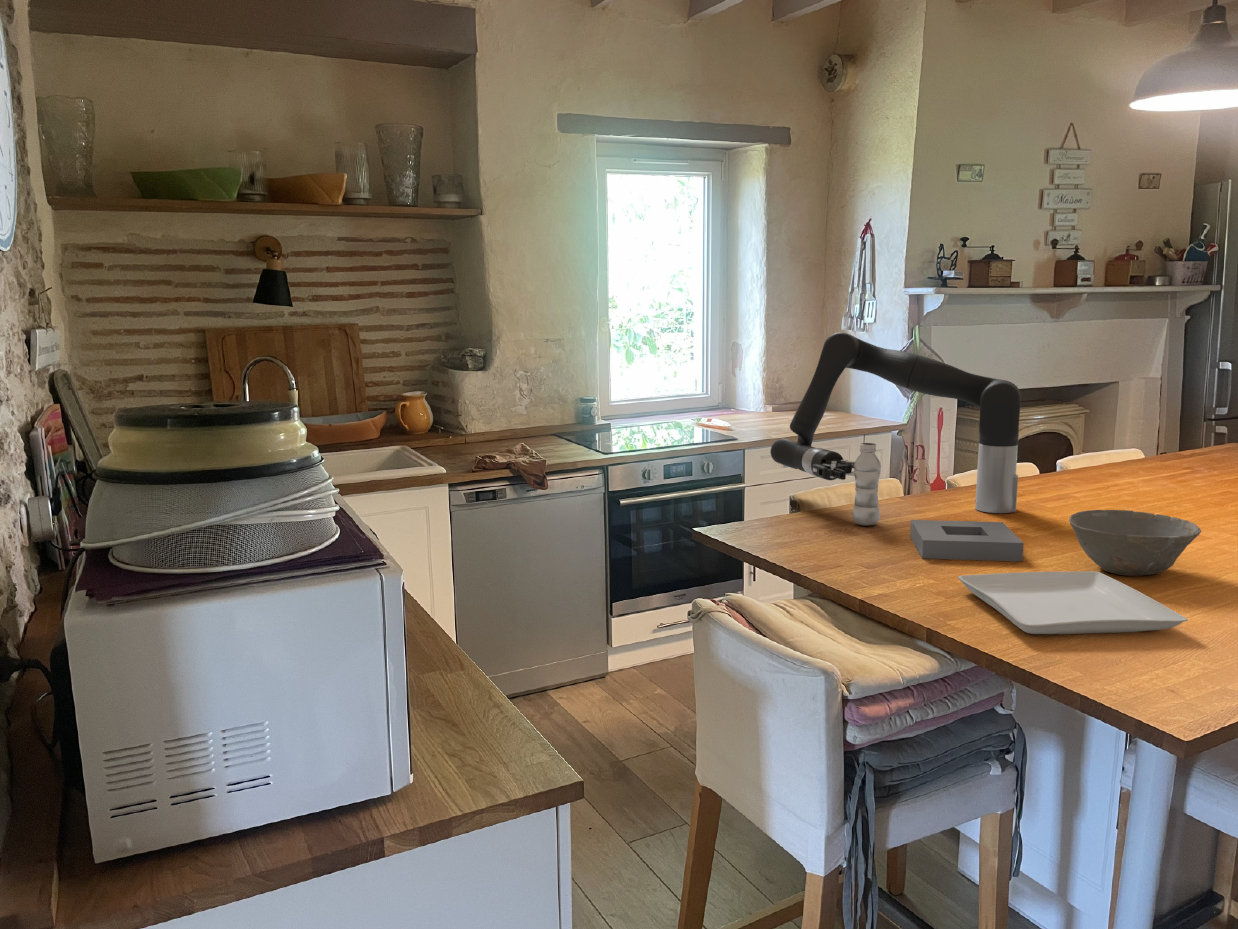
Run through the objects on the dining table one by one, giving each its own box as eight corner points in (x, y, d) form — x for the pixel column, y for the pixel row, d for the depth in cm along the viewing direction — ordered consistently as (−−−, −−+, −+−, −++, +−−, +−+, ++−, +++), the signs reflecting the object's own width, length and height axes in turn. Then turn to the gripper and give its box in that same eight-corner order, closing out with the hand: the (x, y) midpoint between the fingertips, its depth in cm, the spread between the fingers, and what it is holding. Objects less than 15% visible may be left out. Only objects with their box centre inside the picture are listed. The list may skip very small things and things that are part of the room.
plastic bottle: (884, 524, 221) (887, 443, 217) (870, 529, 216) (873, 446, 212) (860, 520, 225) (863, 440, 222) (846, 525, 220) (848, 444, 217)
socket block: (1001, 539, 206) (1002, 522, 205) (1022, 561, 188) (1023, 543, 188) (910, 536, 209) (910, 519, 208) (922, 558, 192) (922, 540, 191)
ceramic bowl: (1040, 562, 188) (1043, 515, 186) (1123, 550, 195) (1126, 505, 194) (1134, 594, 167) (1139, 541, 165) (1222, 579, 175) (1227, 529, 173)
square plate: (1095, 588, 172) (1097, 568, 171) (1189, 641, 145) (1191, 618, 145) (954, 591, 171) (955, 571, 171) (1022, 645, 144) (1024, 622, 144)
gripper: (799, 451, 233) (835, 461, 218) (846, 447, 238) (884, 457, 223) (798, 479, 234) (834, 491, 219) (845, 475, 239) (883, 486, 224)
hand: (859, 474), depth 221 cm, fingers open, 8 cm apart
